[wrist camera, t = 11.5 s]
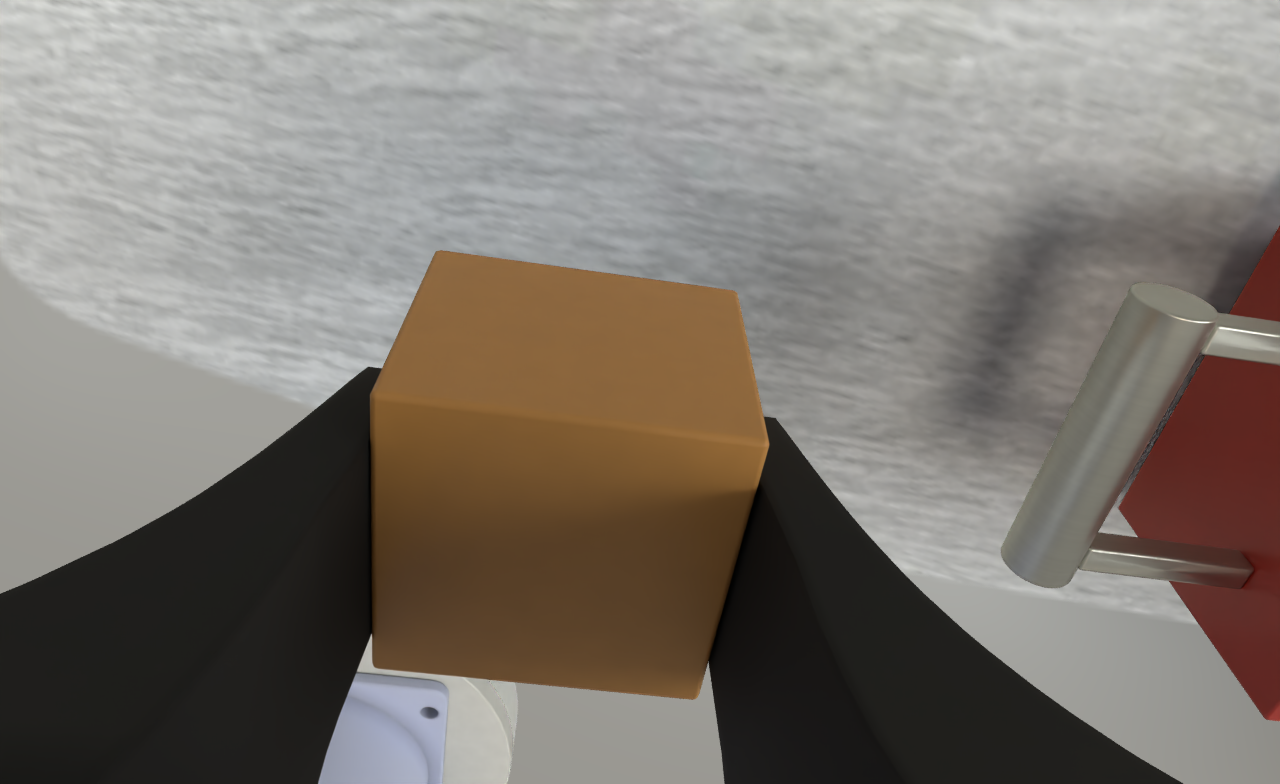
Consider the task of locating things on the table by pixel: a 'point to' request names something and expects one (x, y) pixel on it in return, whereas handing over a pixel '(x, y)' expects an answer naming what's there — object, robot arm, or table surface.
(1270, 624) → the drawer
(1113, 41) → the table surface
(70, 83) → the table surface
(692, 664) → the orange brown cube
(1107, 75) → the table surface
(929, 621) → the robot arm
